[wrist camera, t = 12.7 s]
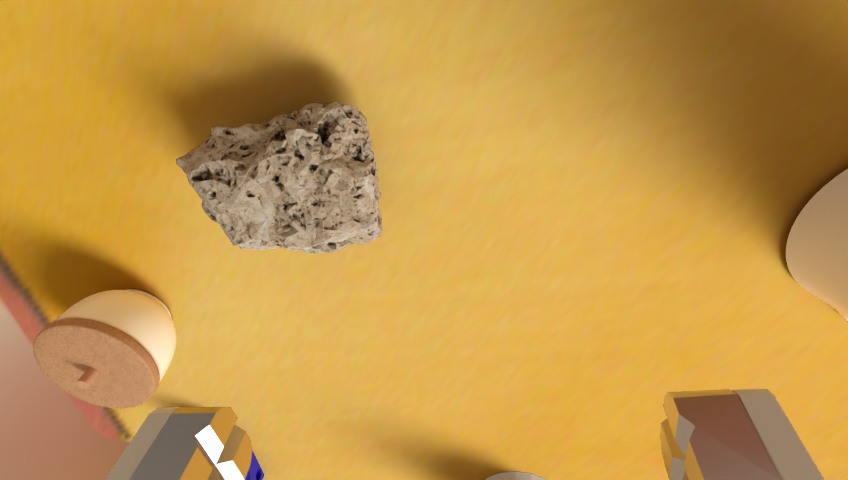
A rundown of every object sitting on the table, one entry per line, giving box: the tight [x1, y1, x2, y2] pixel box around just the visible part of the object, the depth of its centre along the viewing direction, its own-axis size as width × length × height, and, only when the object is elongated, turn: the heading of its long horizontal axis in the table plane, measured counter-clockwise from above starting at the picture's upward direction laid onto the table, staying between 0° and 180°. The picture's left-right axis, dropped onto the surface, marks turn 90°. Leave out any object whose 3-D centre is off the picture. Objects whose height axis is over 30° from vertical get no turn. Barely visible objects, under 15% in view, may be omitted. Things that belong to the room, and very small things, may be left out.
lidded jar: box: [34, 289, 176, 408], centre depth 47 cm, size 11×11×9 cm
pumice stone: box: [176, 101, 382, 254], centre depth 36 cm, size 14×12×8 cm
